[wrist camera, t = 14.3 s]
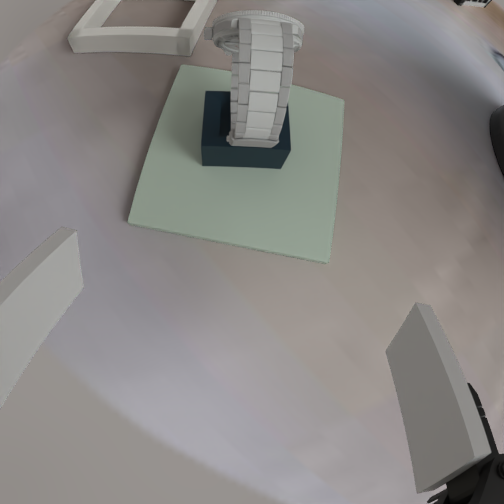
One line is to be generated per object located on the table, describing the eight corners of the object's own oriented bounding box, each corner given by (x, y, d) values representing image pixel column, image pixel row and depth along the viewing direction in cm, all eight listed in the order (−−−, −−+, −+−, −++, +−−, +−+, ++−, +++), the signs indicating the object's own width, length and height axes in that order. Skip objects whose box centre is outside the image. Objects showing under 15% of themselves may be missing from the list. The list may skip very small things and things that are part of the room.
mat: (341, 104, 24) (344, 100, 23) (324, 264, 22) (329, 262, 21) (182, 70, 23) (181, 64, 22) (130, 225, 20) (127, 222, 20)
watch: (277, 98, 22) (316, -8, 11) (281, 192, 21) (341, 104, 10) (206, 94, 22) (208, -19, 11) (199, 189, 21) (189, 92, 10)
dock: (218, -3, 24) (220, -19, 22) (190, 56, 23) (189, 37, 20) (116, -5, 23) (113, -20, 21) (74, 53, 22) (66, 37, 19)
